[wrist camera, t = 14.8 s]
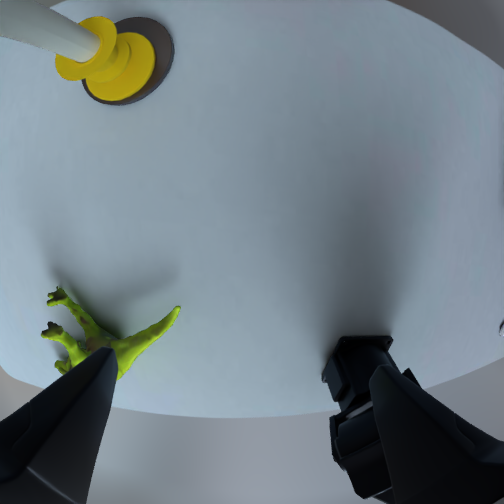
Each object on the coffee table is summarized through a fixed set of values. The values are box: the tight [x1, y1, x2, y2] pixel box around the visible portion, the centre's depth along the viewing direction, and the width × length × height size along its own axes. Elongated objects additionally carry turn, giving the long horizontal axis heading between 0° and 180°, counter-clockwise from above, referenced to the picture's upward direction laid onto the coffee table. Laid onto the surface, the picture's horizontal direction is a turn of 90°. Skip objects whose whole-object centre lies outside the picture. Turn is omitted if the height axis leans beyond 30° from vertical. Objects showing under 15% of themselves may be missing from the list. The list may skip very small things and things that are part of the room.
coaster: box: [82, 17, 174, 106], centre depth 14 cm, size 7×7×1 cm
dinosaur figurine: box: [41, 286, 181, 381], centre depth 20 cm, size 20×10×6 cm, turn 136°
